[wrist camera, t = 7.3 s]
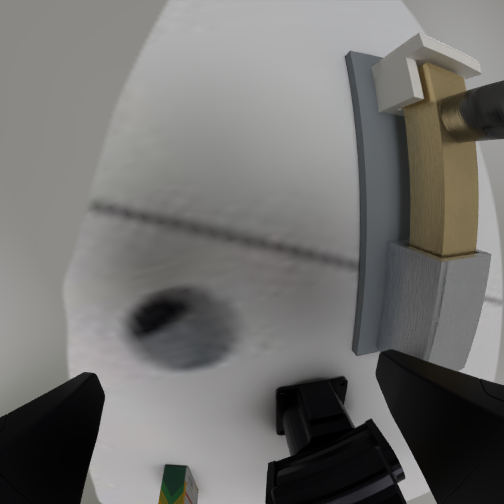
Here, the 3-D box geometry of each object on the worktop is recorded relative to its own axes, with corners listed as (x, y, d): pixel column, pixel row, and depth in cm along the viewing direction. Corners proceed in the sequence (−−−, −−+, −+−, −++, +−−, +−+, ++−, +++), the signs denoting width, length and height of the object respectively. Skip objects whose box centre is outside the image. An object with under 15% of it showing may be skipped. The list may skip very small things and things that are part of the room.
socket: (434, 123, 17) (491, 111, 10) (378, 112, 16) (434, 88, 10) (427, 82, 16) (478, 61, 10) (371, 67, 15) (419, 32, 9)
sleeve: (423, 334, 21) (463, 367, 15) (376, 347, 20) (413, 389, 14) (437, 237, 19) (491, 254, 13) (387, 241, 18) (441, 261, 12)
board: (430, 330, 22) (436, 334, 21) (352, 350, 21) (356, 356, 20) (431, 77, 17) (437, 74, 16) (345, 56, 16) (350, 51, 15)
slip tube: (441, 267, 18) (522, 306, 9) (407, 273, 17) (493, 321, 9) (433, 88, 14) (513, 61, 6) (397, 78, 14) (480, 36, 6)
